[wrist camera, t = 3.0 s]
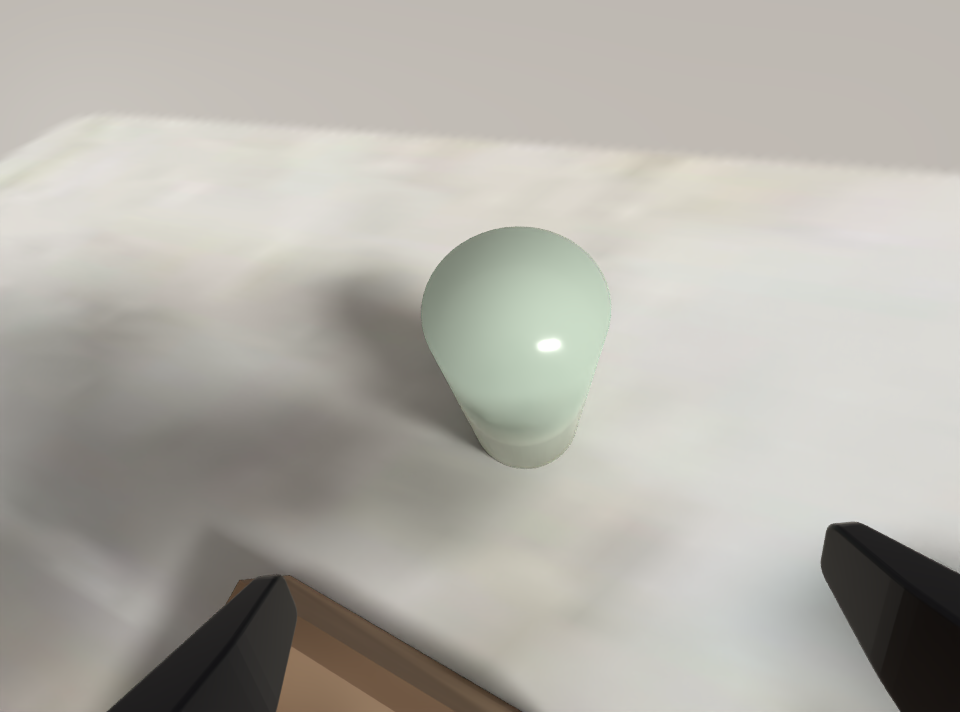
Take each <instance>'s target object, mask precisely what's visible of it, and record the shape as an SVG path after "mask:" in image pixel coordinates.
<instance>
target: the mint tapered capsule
mask: <svg viewBox="0 0 960 712" xmlns="http://www.w3.org/2000/svg"><path fill="white" fill-rule="evenodd" d="M610 318H611V300H610V293H609V289H608V286H607V283H606V280H605V278H604V276H603V274H602V272H601V270H600V269H599V267H598V266H597V264H596V263H595V261H594V260H593V259H592V258H591V257H590V256H589V254H587V253H586V252H585V251H584V250H583V249H582V248H581V247H579V246H578V245H577V244H575V243H574V242H572V241H571V240H569V239H567V238H565V237H563V236H561V235H559V234H556V233H553V232H551V231H547V230H543V229H539V228H532V227H505V228H499V229H494V230H491V231H487V232H484V233H481V234H479V235H477V236H474V237H472V238H470V239H468V240H467V241H465V242H463V243H461V244H460V245H459V246H457V247H456V248H455V249H453V250H452V251H451V252H450V253H449V254H448V255H447V256H446V257H445V258H444V259H443V260H442V261H441V262H440V263H439V265H438V266H437V267H436V269H435V270H434V272H433V273H432V275H431V277H430V279H429V281H428V283H427V285H426V289H425V292H424V295H423V300H422V306H421V321H422V328H423V332H424V336H425V339H426V342H427V344H428V346H429V349H430V351H431V352H432V354H433V356H434V358H435V360H436V362H437V364H438V366H439V367H440V369H441V371H442V373H443V375H444V377H445V379H446V381H447V382H448V384H449V386H450V388H451V390H452V392H453V394H454V396H455V397H456V399H457V401H458V403H459V405H460V407H461V409H462V411H463V412H464V414H465V416H466V418H467V420H468V422H469V424H470V426H471V427H472V429H473V431H474V433H475V435H476V437H477V439H478V441H479V442H480V444H481V445H482V447H483V448H484V449H485V451H486V452H487V453H488V454H489V455H490V456H491V457H493V458H494V459H496V460H497V461H499V462H501V463H502V464H505V465H507V466H510V467H514V468H521V469H531V468H537V467H541V466H544V465H546V464H549V463H551V462H553V461H554V460H556V459H557V458H558V457H560V456H561V455H562V454H563V453H564V452H565V451H566V450H567V448H568V447H569V445H570V444H571V442H572V440H573V438H574V436H575V433H576V430H577V427H578V423H579V420H580V417H581V414H582V411H583V408H584V404H585V401H586V398H587V395H588V392H589V389H590V386H591V382H592V379H593V376H594V373H595V370H596V367H597V363H598V360H599V357H600V354H601V351H602V348H603V345H604V341H605V338H606V335H607V332H608V329H609V324H610Z"/></svg>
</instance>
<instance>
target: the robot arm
mask: <svg viewBox="0 0 960 712" xmlns="http://www.w3.org/2000/svg"><path fill="white" fill-rule="evenodd" d="M821 569H822V573H823V575H824V578H825V580H826V582H827V583H828V585H829V587H830V589H831V591H832V593H833V595H834V597H835V598H836V600H837V602H838V604H839V606H840V608H841V610H842V611H843V613H844V615H845V617H846V619H847V621H848V623H849V624H850V626H851V628H852V630H853V632H854V634H855V636H856V637H857V639H858V641H859V643H860V645H861V647H862V649H863V650H864V652H865V654H866V656H867V658H868V660H869V662H870V663H871V665H872V667H873V669H874V670H875V672H876V674H877V676H878V677H879V679H880V681H881V682H882V684H883V685H884V687H885V689H886V690H887V692H888V693H889V695H890V696H891V698H892V699H893V701H894V703H895V704H896V706H897V707H898V709H899V710H900V712H960V574H959V573H957V572H955V571H953V570H951V569H949V568H947V567H945V566H944V565H942V564H940V563H938V562H936V561H934V560H932V559H930V558H928V557H926V556H924V555H922V554H920V553H918V552H916V551H915V550H913V549H911V548H909V547H907V546H905V545H903V544H901V543H899V542H897V541H895V540H893V539H891V538H889V537H888V536H886V535H884V534H882V533H880V532H878V531H876V530H874V529H872V528H870V527H868V526H866V525H864V524H862V523H859V522H844V523H834V524H831V525H829V527H828V528H827V530H826V535H825V540H824V546H823V551H822V557H821ZM296 622H297V608H296V605H295V602H294V600H293V597H292V595H291V592H290V590H289V588H288V585H287V583H286V580H285V578H284V577H283V576H282V575H279V574H276V575H266V576H259V577H257V578H255V579H254V580H253V581H251V582H250V583H249V584H248V585H247V586H246V587H245V588H244V589H243V590H241V591H240V592H239V593H238V594H237V595H236V596H235V597H234V598H233V599H231V600H230V601H229V602H228V603H227V604H226V605H225V606H224V607H223V608H221V609H220V610H219V611H218V612H217V613H216V614H215V615H214V616H213V617H211V618H210V619H209V620H208V621H207V622H206V623H205V624H204V625H203V626H201V627H200V628H199V629H198V630H197V631H196V632H195V633H194V634H193V635H191V636H190V637H189V638H188V639H187V640H186V641H185V642H184V643H183V644H181V645H180V646H179V647H178V648H177V649H176V650H175V651H174V652H173V653H172V654H170V655H169V656H168V657H167V658H166V659H165V660H164V661H163V662H162V663H160V664H159V665H158V666H157V667H156V668H155V669H154V670H153V671H152V672H150V673H149V674H148V675H147V676H146V677H145V678H144V679H143V680H142V681H140V682H139V683H138V684H137V685H136V686H135V687H134V688H133V689H132V690H130V691H129V692H128V693H127V694H126V695H125V696H124V697H123V698H122V699H120V700H119V701H118V702H117V703H116V704H115V705H114V706H113V707H112V708H110V709H109V710H108V711H107V712H276V711H277V707H278V703H279V698H280V694H281V689H282V685H283V680H284V676H285V672H286V667H287V663H288V658H289V654H290V649H291V645H292V640H293V636H294V632H295V627H296Z"/></svg>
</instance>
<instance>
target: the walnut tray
mask: <svg viewBox="0 0 960 712" xmlns="http://www.w3.org/2000/svg"><path fill="white" fill-rule="evenodd" d="M283 577H284V578H285V580H286V583H287V585H288V588H289V590H290V592H291V595H292V597H293V600H294V602H295V605H296V608H297V622H296V627H295V632H294V636H293V640H292V645H291V649H290V654H289V658H288V663H287V667H286V672H285V676H284V680H283V685H282V689H281V694H280V698H279V703H278V707H277V711H276V712H522V711H520V710H518V709H517V708H515V707H513V706H512V705H510V704H508V703H506V702H505V701H503V700H501V699H500V698H498V697H496V696H495V695H493V694H491V693H489V692H488V691H486V690H484V689H483V688H481V687H479V686H477V685H476V684H474V683H472V682H471V681H469V680H467V679H466V678H464V677H462V676H460V675H459V674H457V673H455V672H454V671H452V670H450V669H448V668H447V667H445V666H443V665H442V664H440V663H438V662H437V661H435V660H433V659H431V658H430V657H428V656H426V655H425V654H423V653H421V652H420V651H418V650H416V649H414V648H413V647H411V646H409V645H408V644H406V643H404V642H402V641H401V640H399V639H397V638H396V637H394V636H392V635H391V634H389V633H387V632H385V631H384V630H382V629H380V628H379V627H377V626H375V625H373V624H372V623H370V622H368V621H367V620H365V619H363V618H362V617H360V616H358V615H356V614H355V613H353V612H351V611H350V610H348V609H346V608H345V607H343V606H341V605H339V604H338V603H336V602H334V601H333V600H331V599H329V598H327V597H326V596H324V595H322V594H321V593H319V592H317V591H316V590H314V589H312V588H310V587H309V586H307V585H305V584H304V583H302V582H300V581H298V580H297V579H295V578H293V577H292V576H290V575H288V576H283ZM253 580H254V579H246V580H239V582H238V584H237V585H236V587H235V589H234V591H233V592H232V594H231V596H230V598H229V599H228V601H227V603H228V602H229V601H230V600H231V599H233V598H234V597H235V596H236V595H237V594H238V593H239V592H240V591H241V590H243V589H244V588H245V587H246V586H247V585H248V584H249V583H250V582H251V581H253ZM227 603H226V604H227Z"/></svg>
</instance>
